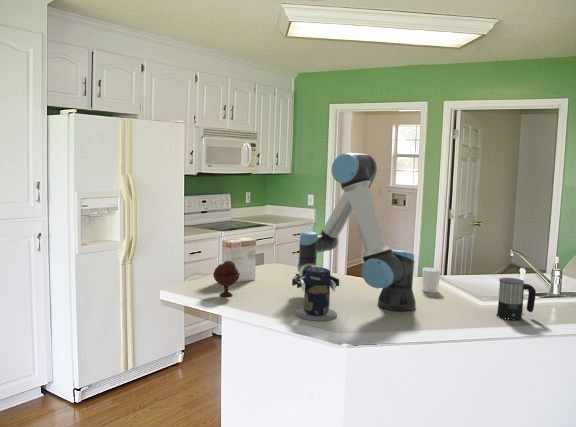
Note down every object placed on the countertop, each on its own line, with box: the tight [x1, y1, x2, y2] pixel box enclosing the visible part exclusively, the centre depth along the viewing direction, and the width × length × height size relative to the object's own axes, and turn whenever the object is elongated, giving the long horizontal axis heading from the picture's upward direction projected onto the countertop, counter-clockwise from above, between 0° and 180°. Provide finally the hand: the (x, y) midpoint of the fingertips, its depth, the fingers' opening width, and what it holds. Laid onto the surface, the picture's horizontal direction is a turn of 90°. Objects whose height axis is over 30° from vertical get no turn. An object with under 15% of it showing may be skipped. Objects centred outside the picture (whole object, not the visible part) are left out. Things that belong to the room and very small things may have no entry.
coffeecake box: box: [221, 237, 257, 284], centre depth 255 cm, size 15×7×20 cm, turn 130°
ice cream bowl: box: [212, 261, 240, 298], centre depth 229 cm, size 11×11×15 cm
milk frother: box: [496, 277, 537, 320], centre depth 217 cm, size 14×16×15 cm
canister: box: [303, 266, 331, 315], centre depth 206 cm, size 10×10×18 cm
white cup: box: [421, 267, 441, 294], centre depth 250 cm, size 8×8×10 cm
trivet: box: [294, 307, 338, 322], centre depth 207 cm, size 16×16×1 cm
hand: (319, 287), depth 202 cm, fingers open, 11 cm apart
